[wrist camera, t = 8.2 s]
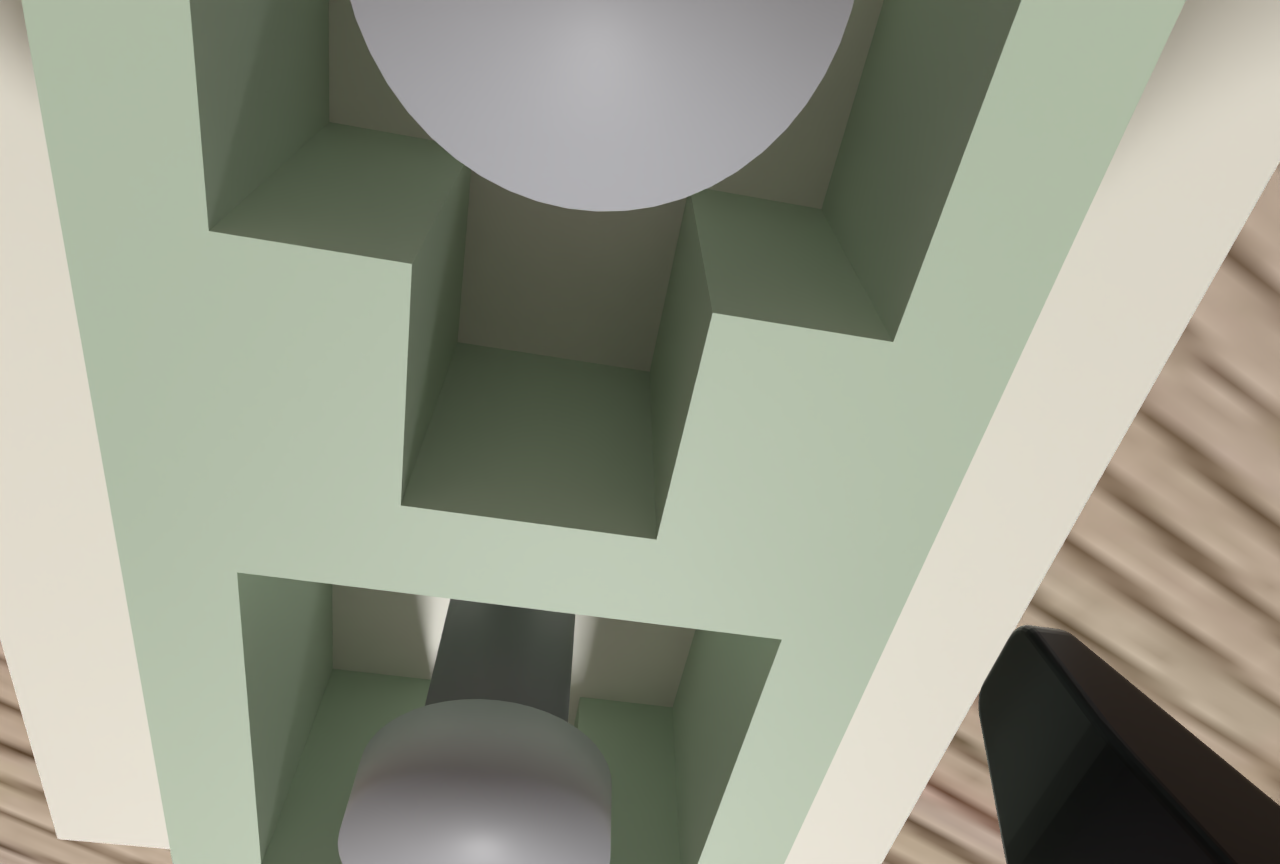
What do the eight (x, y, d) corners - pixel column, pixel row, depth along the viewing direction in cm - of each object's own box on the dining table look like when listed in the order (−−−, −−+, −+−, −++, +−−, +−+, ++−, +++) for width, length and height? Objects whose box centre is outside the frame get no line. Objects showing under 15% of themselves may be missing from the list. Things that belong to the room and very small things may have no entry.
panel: (690, 844, 15) (702, 1039, 13) (271, 804, 15) (197, 1001, 12) (1194, -559, 6) (1572, -830, 4) (157, -854, 6) (-232, -1438, 3)
